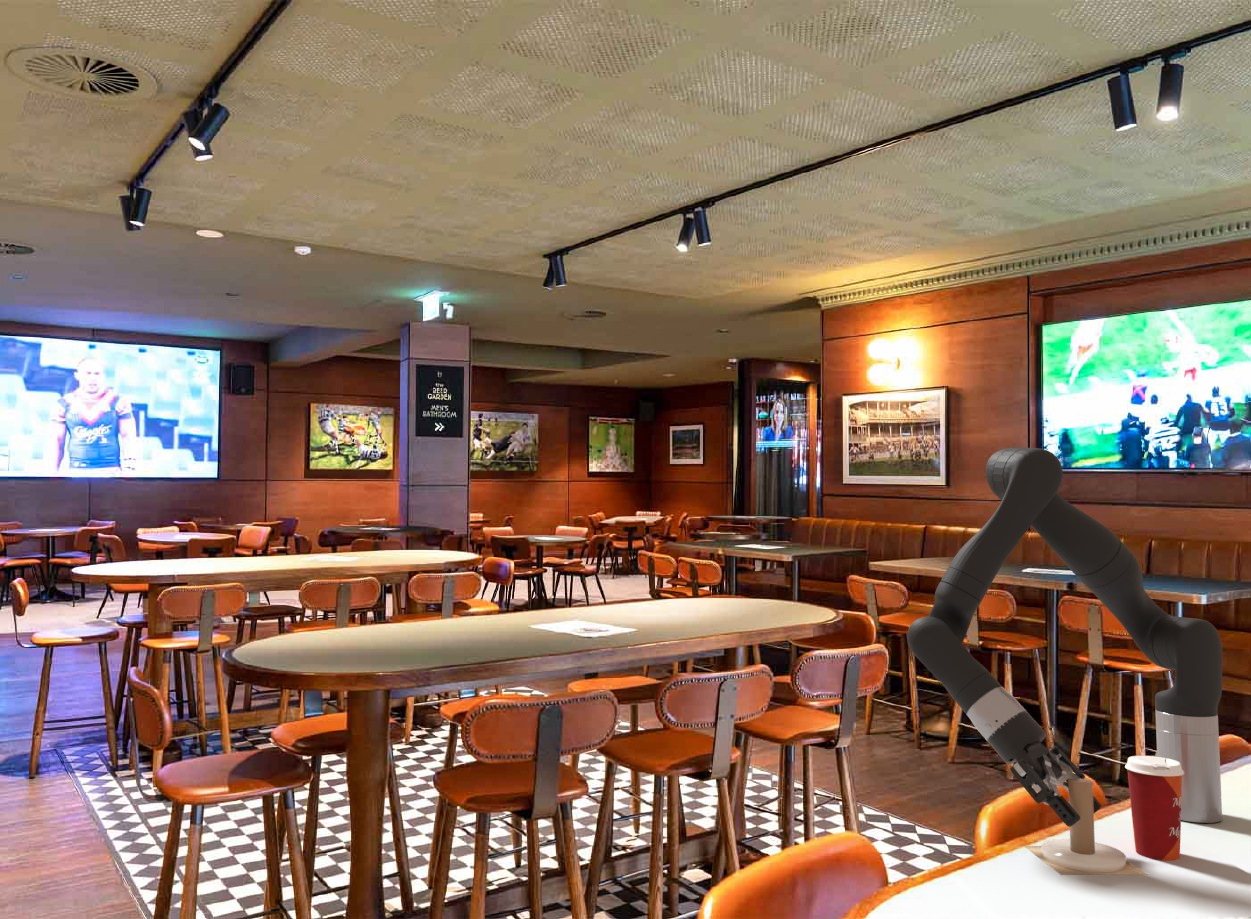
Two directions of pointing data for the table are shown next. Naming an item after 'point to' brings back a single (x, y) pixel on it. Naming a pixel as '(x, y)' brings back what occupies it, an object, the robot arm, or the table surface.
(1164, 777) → the paper cup
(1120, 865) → the beige peg stand
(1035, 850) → the cork mat
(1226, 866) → the table surface
